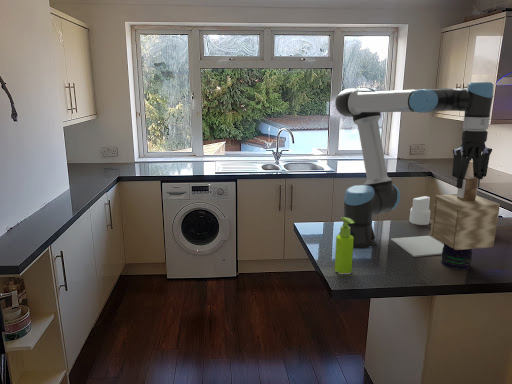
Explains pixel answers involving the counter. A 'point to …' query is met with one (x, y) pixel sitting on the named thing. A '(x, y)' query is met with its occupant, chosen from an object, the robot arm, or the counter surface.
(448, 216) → the wooden cover
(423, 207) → the cylinder with rectangular tab
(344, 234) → the soap dispenser
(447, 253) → the storage jar
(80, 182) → the counter surface
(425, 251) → the grey mat
